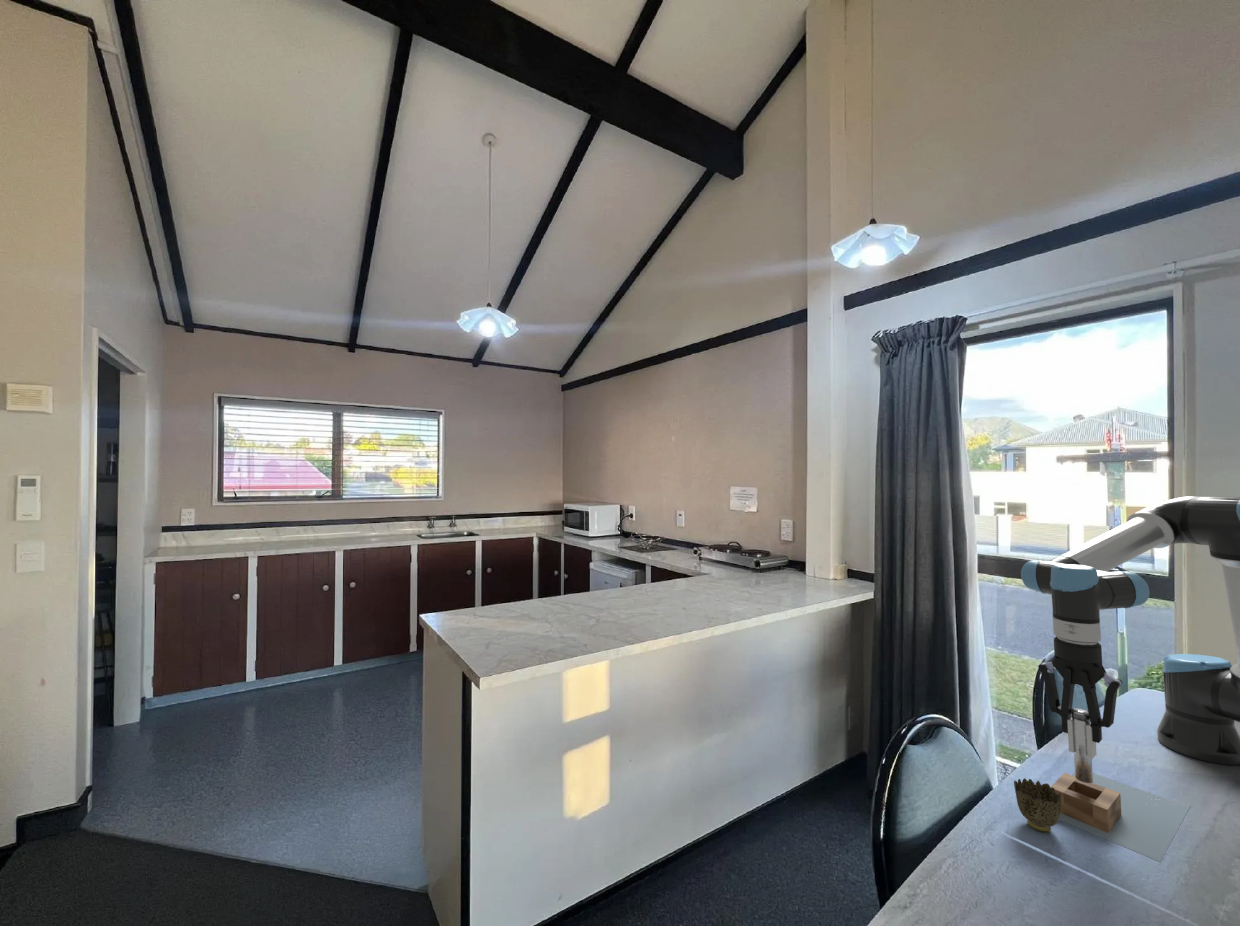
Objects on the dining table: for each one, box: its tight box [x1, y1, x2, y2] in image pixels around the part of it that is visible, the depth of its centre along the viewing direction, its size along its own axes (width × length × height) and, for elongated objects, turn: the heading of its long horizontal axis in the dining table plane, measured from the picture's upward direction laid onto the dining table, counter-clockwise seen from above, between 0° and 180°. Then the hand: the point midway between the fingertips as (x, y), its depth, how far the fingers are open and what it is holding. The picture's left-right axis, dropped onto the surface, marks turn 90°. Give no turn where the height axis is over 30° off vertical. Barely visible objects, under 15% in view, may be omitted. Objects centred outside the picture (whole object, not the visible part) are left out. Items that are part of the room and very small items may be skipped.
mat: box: [1058, 771, 1190, 863], centre depth 108 cm, size 26×18×1 cm
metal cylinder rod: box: [1071, 707, 1094, 783], centre depth 107 cm, size 3×3×14 cm
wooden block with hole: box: [1050, 772, 1121, 833], centre depth 107 cm, size 9×9×4 cm
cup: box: [1013, 777, 1062, 834], centre depth 103 cm, size 8×7×8 cm
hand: (1082, 752), depth 107 cm, fingers closed on metal cylinder rod, 2 cm apart
